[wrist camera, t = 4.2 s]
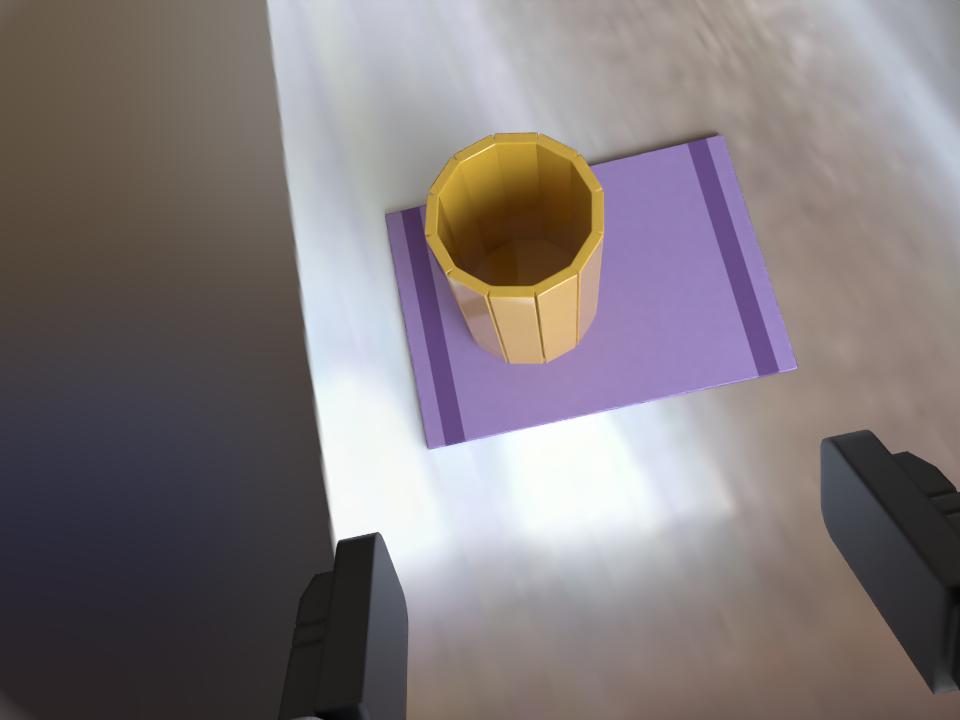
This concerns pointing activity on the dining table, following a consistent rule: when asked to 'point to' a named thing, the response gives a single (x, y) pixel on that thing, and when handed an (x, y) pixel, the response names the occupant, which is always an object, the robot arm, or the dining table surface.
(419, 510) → the dining table surface
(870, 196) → the dining table surface
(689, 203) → the cloth
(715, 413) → the dining table surface
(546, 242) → the tumbler
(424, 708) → the dining table surface
